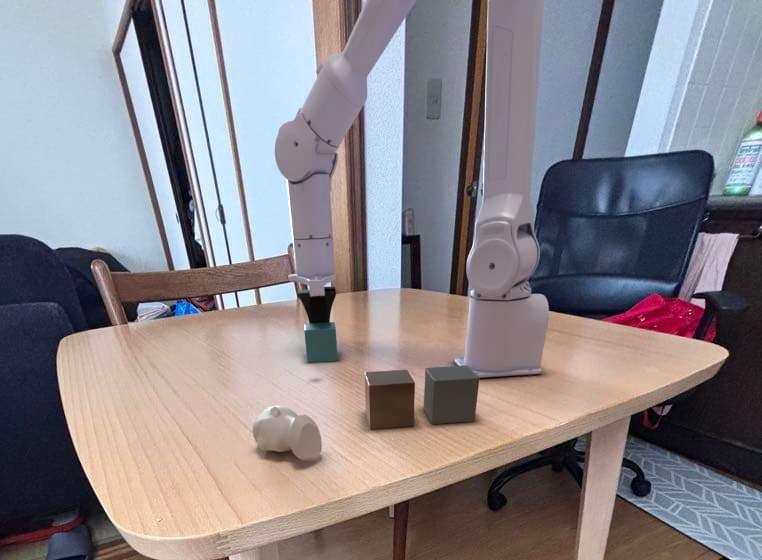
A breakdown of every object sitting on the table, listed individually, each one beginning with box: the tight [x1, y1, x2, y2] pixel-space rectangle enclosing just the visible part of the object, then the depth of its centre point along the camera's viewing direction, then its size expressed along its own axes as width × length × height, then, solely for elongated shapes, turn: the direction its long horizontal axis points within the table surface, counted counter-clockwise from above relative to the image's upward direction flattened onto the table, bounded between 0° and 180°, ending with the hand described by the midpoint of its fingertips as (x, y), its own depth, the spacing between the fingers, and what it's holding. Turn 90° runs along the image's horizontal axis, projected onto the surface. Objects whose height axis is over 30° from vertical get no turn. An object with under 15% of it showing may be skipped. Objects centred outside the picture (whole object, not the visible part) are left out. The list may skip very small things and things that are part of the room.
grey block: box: [423, 365, 481, 425], centre depth 49 cm, size 4×4×4 cm
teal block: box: [303, 321, 339, 364], centre depth 69 cm, size 4×4×4 cm
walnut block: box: [364, 369, 416, 430], centre depth 48 cm, size 4×4×4 cm
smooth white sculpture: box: [252, 405, 323, 461], centre depth 43 cm, size 4×8×5 cm
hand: (320, 340), depth 74 cm, fingers closed
